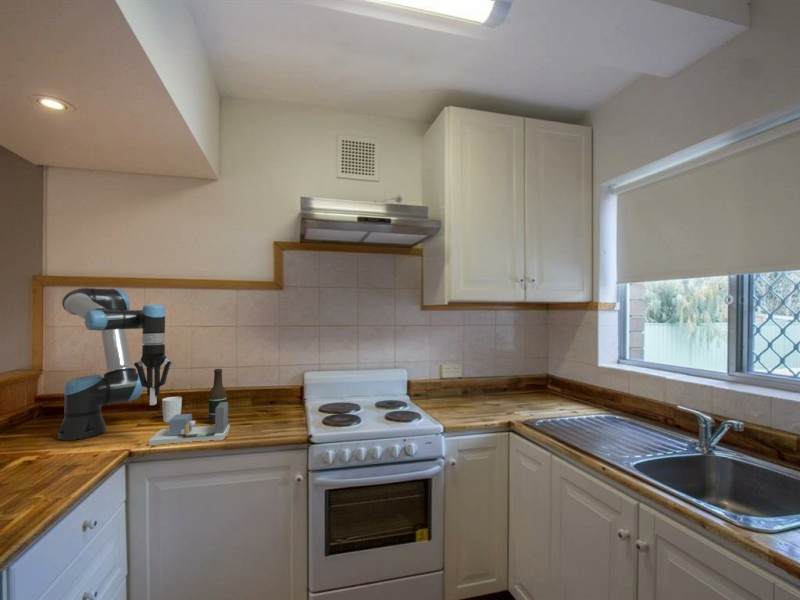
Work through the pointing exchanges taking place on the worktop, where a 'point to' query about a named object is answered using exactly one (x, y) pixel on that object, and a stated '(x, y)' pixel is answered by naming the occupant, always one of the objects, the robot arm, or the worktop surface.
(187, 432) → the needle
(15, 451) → the worktop surface
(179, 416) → the carriage
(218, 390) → the beer bottle
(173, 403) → the white cup
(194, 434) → the board
